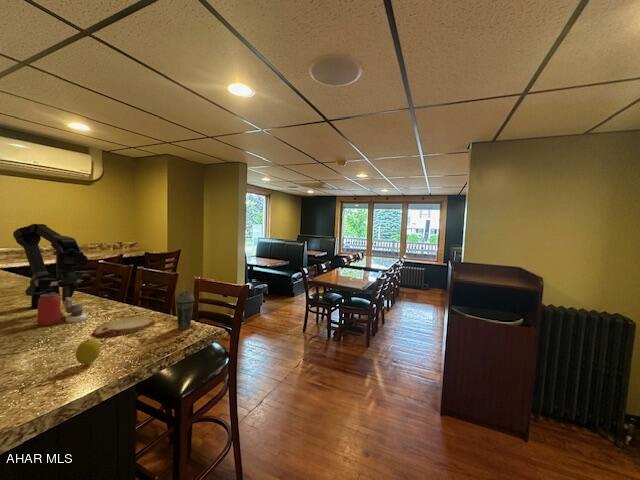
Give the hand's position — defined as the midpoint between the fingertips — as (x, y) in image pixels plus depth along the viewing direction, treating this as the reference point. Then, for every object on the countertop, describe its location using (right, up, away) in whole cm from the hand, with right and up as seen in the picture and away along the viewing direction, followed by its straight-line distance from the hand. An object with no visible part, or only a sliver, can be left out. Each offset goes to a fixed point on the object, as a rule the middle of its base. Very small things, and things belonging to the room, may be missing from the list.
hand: (64, 298), depth 125 cm
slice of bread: (+39, -10, -15) cm, 43 cm away
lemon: (+49, -11, -44) cm, 66 cm away
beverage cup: (+61, -10, -11) cm, 63 cm away
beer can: (+8, -7, -15) cm, 19 cm away
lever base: (+14, -7, -10) cm, 19 cm away
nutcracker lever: (+7, -4, -5) cm, 10 cm away
